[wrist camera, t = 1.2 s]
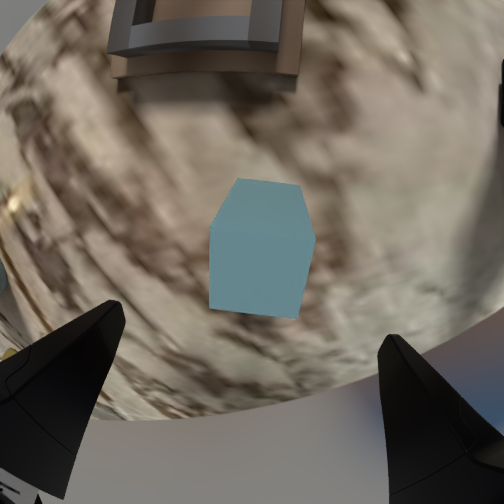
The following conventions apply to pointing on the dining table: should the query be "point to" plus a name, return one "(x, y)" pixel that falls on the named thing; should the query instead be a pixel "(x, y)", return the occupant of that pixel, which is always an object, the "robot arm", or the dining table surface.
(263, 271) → the peg
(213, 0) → the socket block
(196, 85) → the dining table surface
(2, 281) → the blue-green cup
